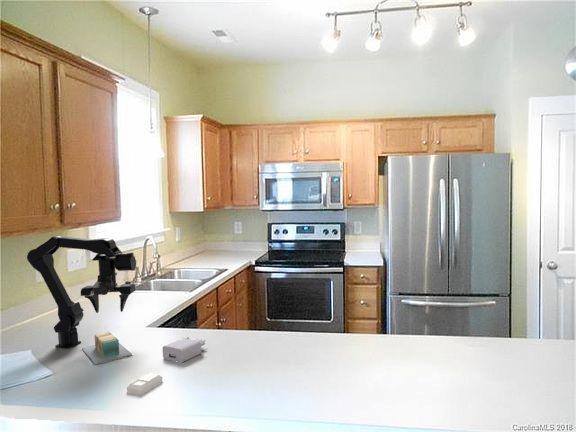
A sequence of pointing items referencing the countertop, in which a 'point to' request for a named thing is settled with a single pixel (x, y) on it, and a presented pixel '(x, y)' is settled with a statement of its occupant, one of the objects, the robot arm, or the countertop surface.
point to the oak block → (106, 344)
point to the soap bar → (144, 384)
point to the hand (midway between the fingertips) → (109, 312)
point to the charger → (182, 349)
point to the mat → (99, 359)
